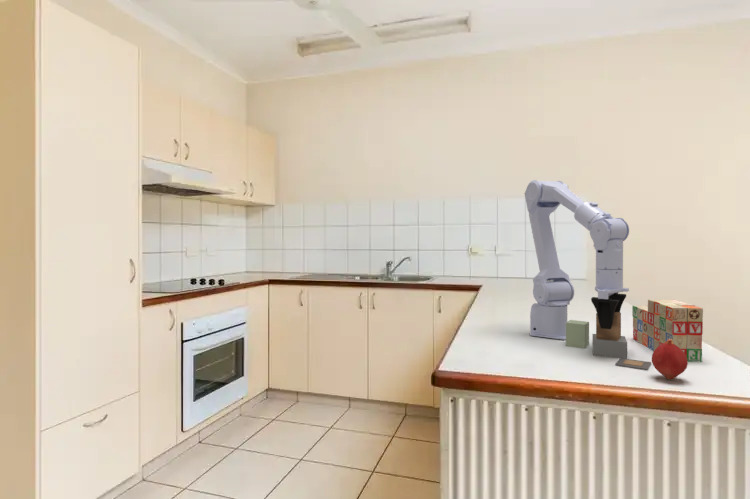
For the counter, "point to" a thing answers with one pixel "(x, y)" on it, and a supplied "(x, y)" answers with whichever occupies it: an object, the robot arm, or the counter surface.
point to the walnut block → (610, 333)
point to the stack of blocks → (670, 326)
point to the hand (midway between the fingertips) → (609, 325)
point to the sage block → (577, 333)
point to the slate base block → (610, 347)
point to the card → (633, 364)
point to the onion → (669, 360)
